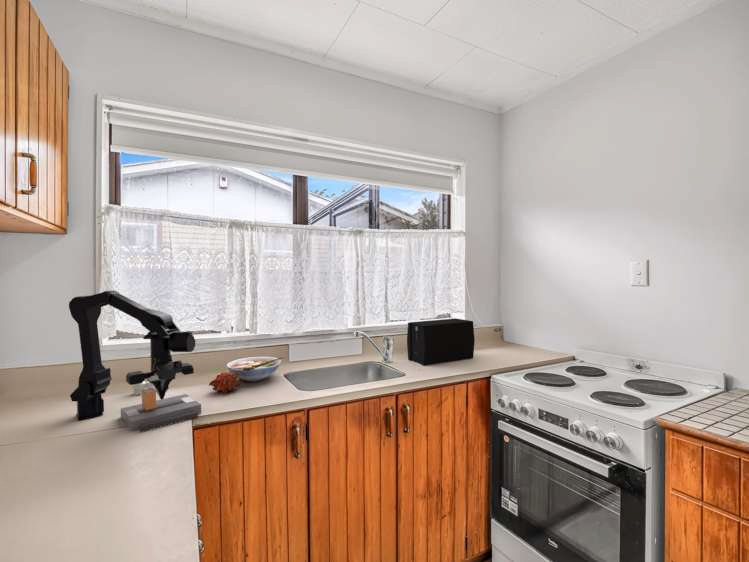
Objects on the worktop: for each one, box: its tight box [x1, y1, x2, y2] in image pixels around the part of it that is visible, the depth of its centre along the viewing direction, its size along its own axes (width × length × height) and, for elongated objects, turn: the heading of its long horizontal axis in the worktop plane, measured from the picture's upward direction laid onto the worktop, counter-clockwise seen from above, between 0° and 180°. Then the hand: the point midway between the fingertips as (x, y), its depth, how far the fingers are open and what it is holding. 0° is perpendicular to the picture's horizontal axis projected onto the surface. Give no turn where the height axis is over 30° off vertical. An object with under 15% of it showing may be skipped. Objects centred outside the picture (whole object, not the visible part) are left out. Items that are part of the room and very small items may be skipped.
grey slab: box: [139, 411, 199, 433], centre depth 123 cm, size 16×20×2 cm
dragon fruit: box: [208, 370, 242, 394], centre depth 147 cm, size 8×8×12 cm
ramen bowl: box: [226, 356, 285, 382], centre depth 163 cm, size 25×23×8 cm
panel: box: [120, 393, 202, 432], centre depth 123 cm, size 20×15×3 cm
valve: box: [132, 379, 169, 396], centre depth 147 cm, size 7×7×12 cm
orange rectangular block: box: [141, 387, 157, 410], centre depth 120 cm, size 3×4×6 cm
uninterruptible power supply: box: [406, 317, 476, 367], centre depth 198 cm, size 16×34×20 cm, turn 118°
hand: (161, 398), depth 123 cm, fingers closed
